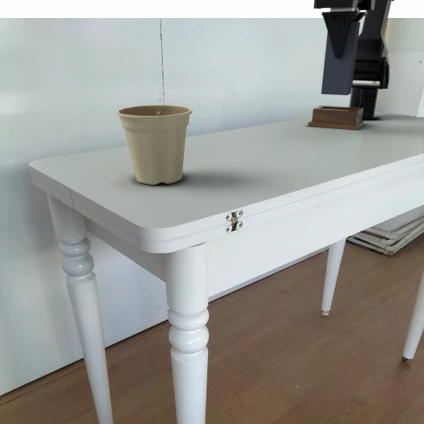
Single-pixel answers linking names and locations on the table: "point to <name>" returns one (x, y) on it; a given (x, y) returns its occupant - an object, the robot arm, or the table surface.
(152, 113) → the flower pot
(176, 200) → the table surface
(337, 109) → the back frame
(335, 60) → the back pad
